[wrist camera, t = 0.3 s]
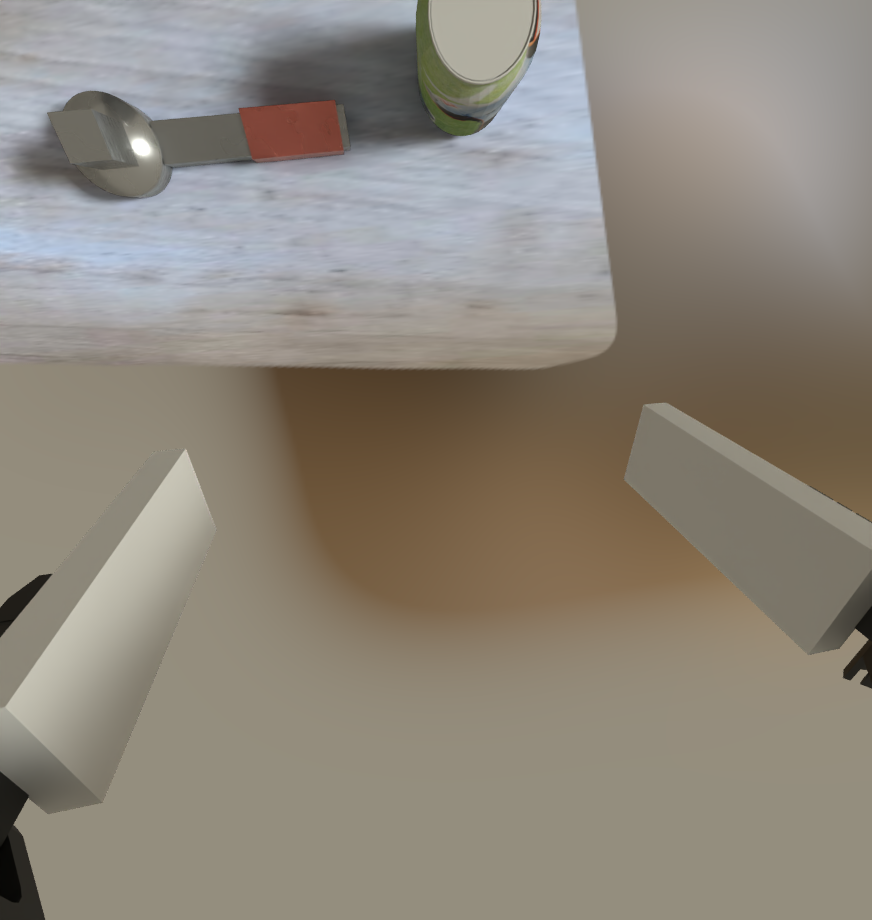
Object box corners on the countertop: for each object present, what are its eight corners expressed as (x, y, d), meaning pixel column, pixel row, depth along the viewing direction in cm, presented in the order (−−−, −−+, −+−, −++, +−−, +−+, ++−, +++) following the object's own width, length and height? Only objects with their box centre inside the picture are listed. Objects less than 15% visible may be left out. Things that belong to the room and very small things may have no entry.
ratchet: (63, 103, 25) (-3, 76, 21) (338, 81, 27) (336, 51, 22) (107, 201, 28) (57, 198, 23) (354, 175, 30) (355, 167, 25)
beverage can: (504, 128, 30) (584, 82, 20) (408, 151, 30) (440, 117, 20) (493, 8, 27) (581, -120, 17) (385, 33, 27) (408, -81, 16)
